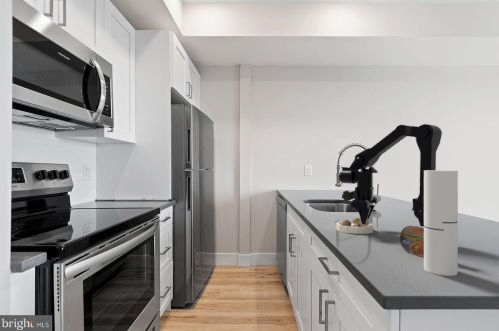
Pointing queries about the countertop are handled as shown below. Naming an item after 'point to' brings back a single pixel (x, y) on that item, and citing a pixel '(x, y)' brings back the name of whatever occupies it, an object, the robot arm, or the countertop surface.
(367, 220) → the maple bead
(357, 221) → the oak bead
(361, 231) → the groove tray
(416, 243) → the tin
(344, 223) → the walnut bead
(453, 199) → the cylindrical container
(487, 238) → the countertop surface
